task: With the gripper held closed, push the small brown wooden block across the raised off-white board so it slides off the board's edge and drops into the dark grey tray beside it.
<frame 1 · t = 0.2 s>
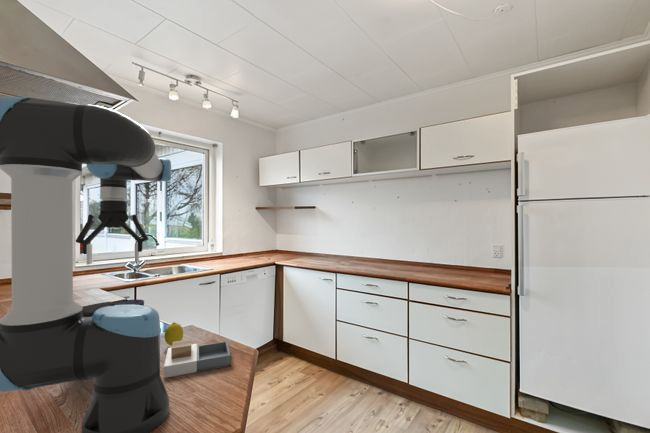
hand: (113, 262, 103), 28 cm above the table, tool pointing down, fingers open, 13 cm apart
storage jar: (127, 350, 99), on the table
lemon: (174, 347, 100), on the table
brown wooden block: (181, 354, 88), point 3 cm above the table, touching board
tray: (213, 360, 90), on the table
board: (181, 364, 88), on the table
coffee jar: (96, 371, 85), on the table
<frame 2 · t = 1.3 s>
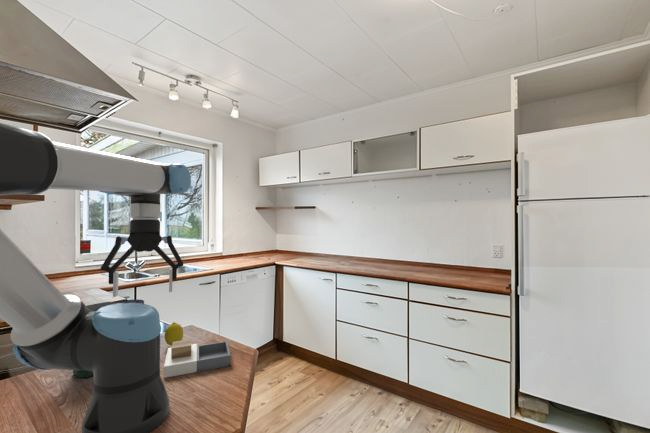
hand: (144, 293, 87), 21 cm above the table, tool pointing down, fingers open, 13 cm apart
nothing on the table moved.
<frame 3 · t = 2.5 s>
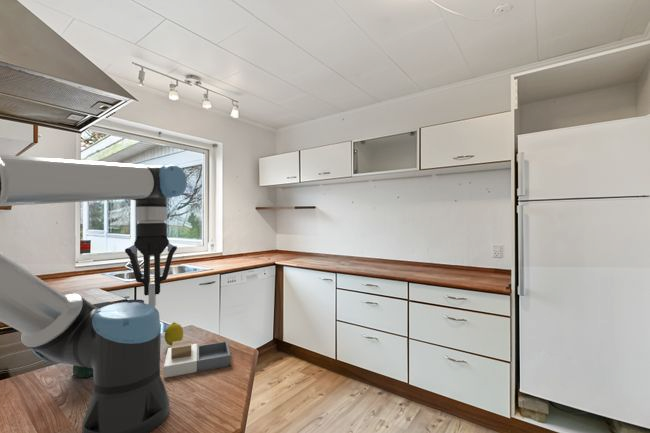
hand: (152, 306, 85), 18 cm above the table, tool pointing down, fingers closed
nothing on the table moved.
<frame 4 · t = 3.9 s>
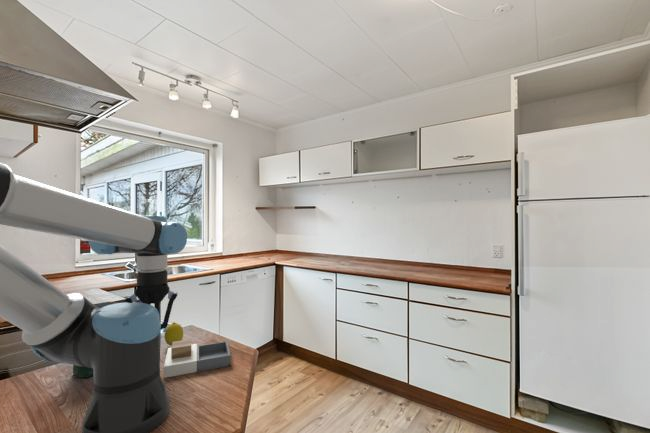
hand: (152, 354, 85), 4 cm above the table, tool pointing down, fingers closed
nothing on the table moved.
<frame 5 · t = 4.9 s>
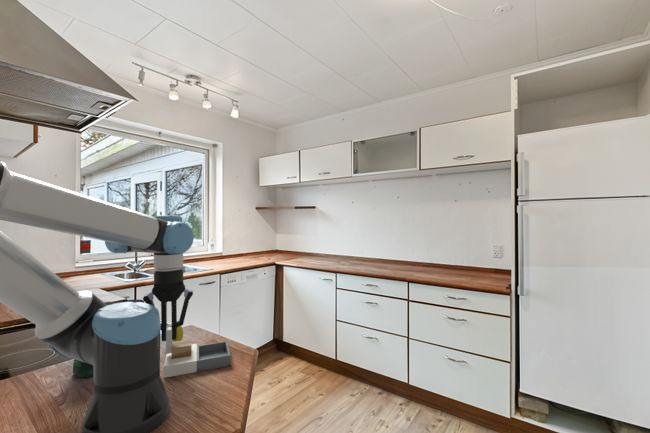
hand: (169, 351, 87), 4 cm above the table, tool pointing down, fingers closed
brown wooden block: (181, 354, 88), point 3 cm above the table, touching board, gripper
everything else where it was.
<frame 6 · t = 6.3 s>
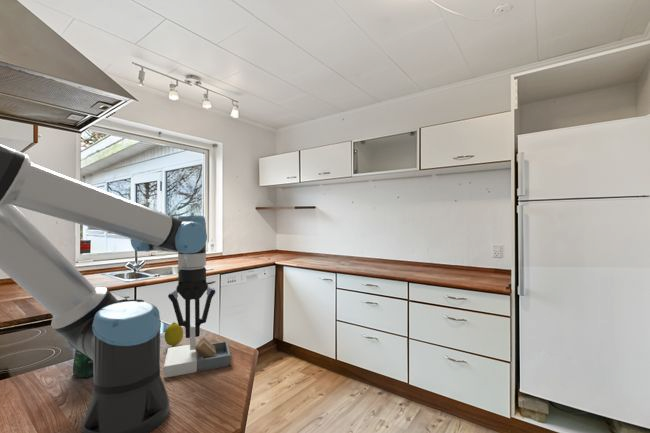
hand: (192, 347, 89), 4 cm above the table, tool pointing down, fingers closed
brown wooden block: (201, 352, 90), point 2 cm above the table, tilted 49°, touching gripper, tray
everything else where it was.
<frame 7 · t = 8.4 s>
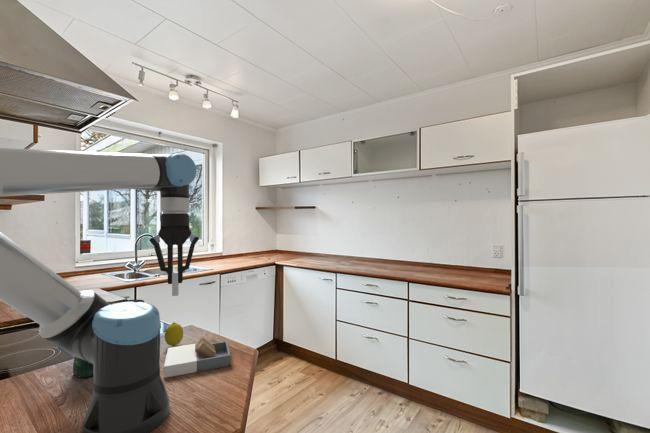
hand: (175, 294, 87), 20 cm above the table, tool pointing down, fingers closed
brown wooden block: (201, 353, 90), point 2 cm above the table, tilted 46°, touching tray
everything else where it was.
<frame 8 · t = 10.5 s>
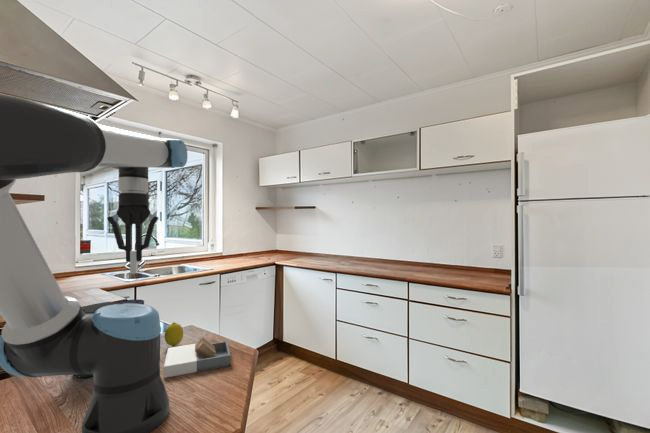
hand: (134, 272, 90), 26 cm above the table, tool pointing down, fingers closed
nothing on the table moved.
at the end: brown wooden block inside the target area on the tray (3.4 cm from its centre), point 2.3 cm above the tray's base; brown wooden block point 2.3 cm above the table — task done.
